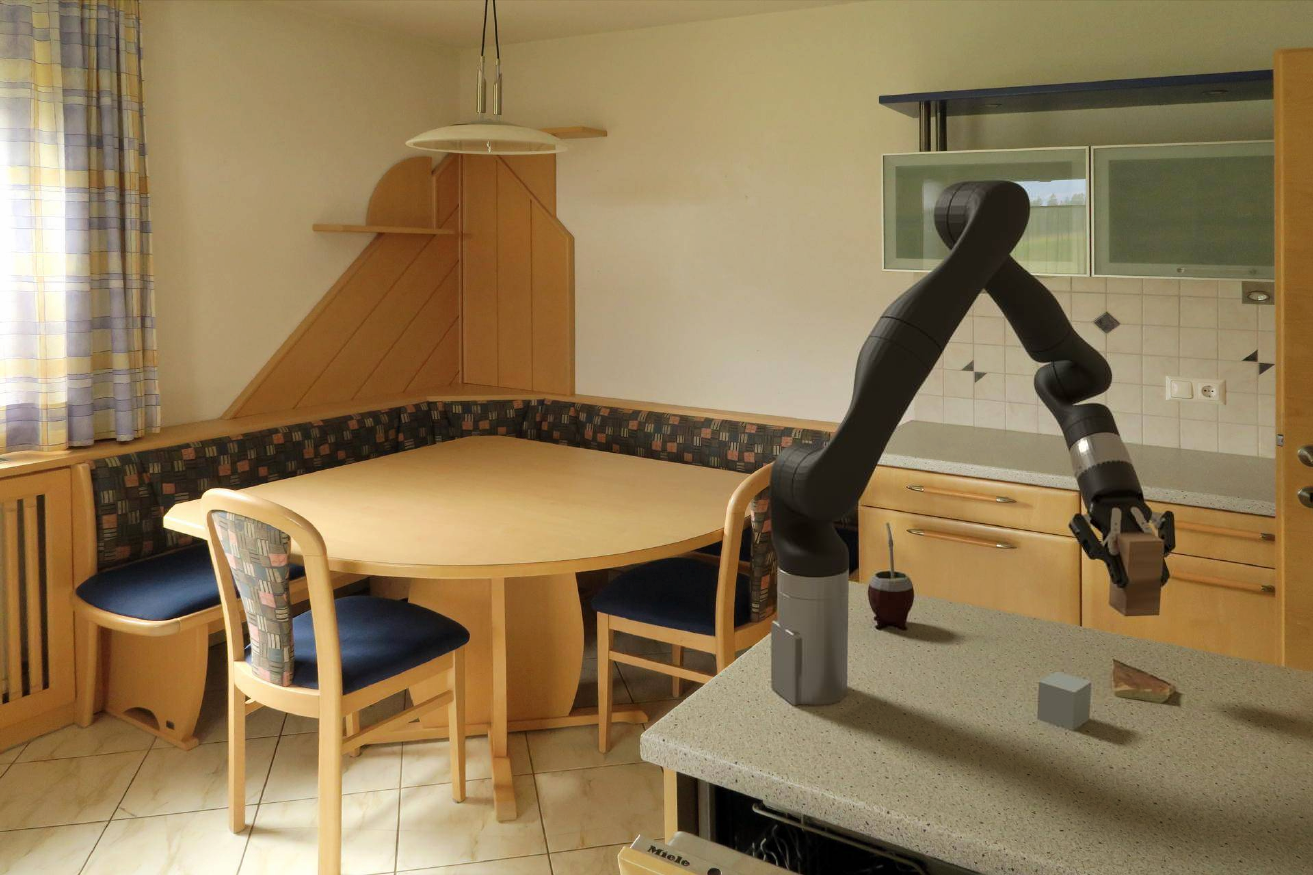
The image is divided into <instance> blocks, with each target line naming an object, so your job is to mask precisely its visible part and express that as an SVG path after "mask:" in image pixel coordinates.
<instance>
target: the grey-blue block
mask: <svg viewBox="0 0 1313 875" xmlns="http://www.w3.org/2000/svg"><path fill="white" fill-rule="evenodd" d="M1091 696H1092V681H1091V680H1086V679H1083V678H1080V677H1077V676H1073V675H1070V674H1067V673H1063V672H1060V671H1055V672H1053V673H1052V674H1050V675H1048V676H1047V677H1044V678H1043V679H1041V680H1039V682H1038V695H1037V698H1038V699H1037V700H1038V701H1037V717H1036V720H1039V721H1042V722H1044V723H1047V724H1051V725H1053V726H1056V727H1060V728H1062V729H1065V730H1068V731H1074V730H1076V729H1077V728H1078V727H1080V726H1082V725H1083V724H1085V723H1086V722H1087V721H1089V720H1090V714H1091V713H1090V711H1091V699H1092V698H1091Z"/></svg>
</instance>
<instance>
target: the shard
mask: <svg viewBox="0 0 1313 875" xmlns="http://www.w3.org/2000/svg"><path fill="white" fill-rule="evenodd" d="M1111 663H1112V668H1113V669H1112V671H1111V678H1112V679H1111V685H1112V689H1113V694H1114V697H1120V698H1128V699H1135V700H1143V701H1147V702H1148V701H1149V702H1153V701H1154V702H1153V703H1159V704H1160V703H1164V702H1165V701H1167V699H1169V697H1170V695H1171V693H1172V694H1173V693H1175V691H1176V688H1177V687H1176V685H1174V684H1172V683H1170V682H1168V681H1166V680H1164V679H1161V678H1158V677H1157V676H1155V675H1153V674H1151V673H1148V672H1146V671H1143V670H1142V669H1139V668H1137V667H1134V666H1131V665H1128V664H1126V663H1123V662H1121V661H1119V660H1117V659H1115V658H1112V662H1111Z"/></svg>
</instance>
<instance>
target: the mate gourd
mask: <svg viewBox="0 0 1313 875" xmlns="http://www.w3.org/2000/svg"><path fill="white" fill-rule="evenodd" d="M885 527H886V530H887V531H886V532H887V537H888V538H887V539H888V540H887V545H888V548H889V550H888V551H889V564H890V565H889V566H890V570H881V571H877V572H876V573H875V574H873V575H872V577H871V578H870V579H869V581H868V582H869V583H868V586H867V598H868V602H869V606H870V608H871V610H872V612H873V614H874V615H875V616H874V617H873V620H874V621H876V624H877V625H875V626H874V627H875V628H876V630H878V631H879V630H883V629H885V628H889V627H892V628H895V629H897V628H898V630H901V631H905V632H906V631H907V630H908V626H907V625H906V624H907V620H908V616H909V613H910V612H911V610H912V607H913V604H914V601H915V590H914V585H913V581H912V580H911V577H909V575H908V574H906V573H904V572H901V571H895V563H894V562H895V561H894V540H893V536H892V531H891V527H890V522H885ZM875 628H874V629H875Z"/></svg>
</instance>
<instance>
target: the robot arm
mask: <svg viewBox="0 0 1313 875" xmlns="http://www.w3.org/2000/svg"><path fill="white" fill-rule="evenodd" d="M1030 215H1031V201H1030V197H1029V194H1028V192H1027V191H1026V189H1025V188H1024V186H1022V185H1021V184H1019V183H1017V182H1014V181H1010V180H1004V179H1003V180H1002V179H992V180H991V179H989V180H971V181H970V180H967V181H961V182H956V183H952V184H950V185H949V186H947V187H946V188H945V189H944V190H943V191H941V193H940V194H939V196H938V198H937V200H936V202H935V206H934V208H933V223H934V226H935V230H936V232H937V234H938V237H939V238H940V239H941V241H942V242H943V244H944V245H945V246H946V247H947V248H948V249H949V251H950V252H948V254H947V255H946V257H945V258H944V259H943V260H942V261H941V262H940V263H939V264H938V266H936V267H935V268H933V269H932V271H930V272H929V273H928V274H926V275H925V276H924V277H922V278H921V279H920V280H918V281H917V282H916V283H914V284H913V285H912V286H911V287H909V288H908V289H906V290H905V291H904V292H903V293H902V294H901V295H899V296H898V297H897V298H896V299H895V300H893V301H892V302H891V303H890V304H889V305H888V307H886V309H885V310H884V311H883V312H882V314H881V315H880V317H879V318H878V320H877V321H876V323H875V325H874V327H873V328H872V330H871V331H870V333H869V335H868V336H867V338H866V339H865V341H864V342H863V345H862V346H861V349H860V350H859V352H858V353H859V354H858V356H857V360H856V363H855V364H856V366H855V370H854V382H853V389H852V390H853V391H852V396H851V401H850V404H849V407H848V408H847V409H848V410H847V412H846V413H845V415H844V418H843V419H842V421H841V422H840V424H839V426H838V427H837V429H836V430H835V432H834V434H833V435H832V436H831V438H830V440H829V441H828V442H827V443H826V444H825V445H824V446H823V445H819V444H816V443H811V442H795V443H791V444H790V445H787V446H786V447H785V448H783V449H782V450H781V451H780V452H779V454H778V455H777V457H776V458H775V460H774V461H773V464H772V467H771V471H770V474H769V475H770V477H769V487H768V488H769V514H770V515H769V517H770V533H771V536H770V537H771V541H772V545H773V548H774V550H775V553H776V557H777V558H776V560H777V588H776V589H777V592H776V593H777V595H776V596H777V605H776V606H777V609H776V610H777V612H776V613H777V616H776V617H777V619H775V620H772V621H771V623H770V624H771V625H770V626H771V627H770V638H771V639H770V641H771V642H770V652H771V653H770V661H771V663H770V670H771V671H770V674H771V675H770V678H771V679H770V688H771V689H772V690H773V691H774V692H776V693H777V694H778V695H779V696H781V697H782V698H783V699H785V700H786V701H787V702H789V704H791V705H794V706H796V705H797V706H798V705H812V706H816V705H818V706H819V705H820V706H823V705H829V704H834V703H837V702H839V701H841V700H843V699H844V698H845V697H846V696H847V694H848V656H849V655H848V653H849V652H848V651H849V650H848V649H849V648H848V647H849V593H850V592H849V588H850V587H849V586H850V583H849V582H850V578H849V576H850V554H849V553H850V552H849V548H848V546H847V544H846V543H845V542H844V540H843V539H842V538H841V536H840V535H839V533H838V532H837V531H836V528H835V526H834V523H835V522H838V521H840V520H842V519H844V518H845V517H846V516H848V515H849V514H850V513H851V512H852V511H853V510H854V508H856V507H857V506H856V505H857V504H858V503H859V501H860V500H861V498H862V497H863V494H864V492H865V490H866V489H867V486H868V485H869V482H870V481H871V478H872V476H873V474H874V472H875V470H876V468H877V466H878V464H879V461H880V460H881V458H882V456H883V453H884V452H885V449H886V447H887V445H888V443H889V441H891V440H890V439H891V437H892V436H893V434H894V432H895V430H896V429H897V427H898V425H900V422H901V420H902V419H903V417H904V415H905V414H906V412H907V411H908V408H909V407H910V405H911V403H912V401H913V400H914V398H915V396H916V395H917V394H918V392H919V390H920V389H921V387H922V386H923V384H924V383H925V381H926V380H927V378H928V377H929V376H930V374H931V372H932V370H933V369H934V367H935V366H936V364H937V363H938V361H939V359H940V358H941V356H942V354H943V353H944V350H945V349H946V348H947V345H948V344H949V342H950V340H951V338H952V337H953V335H954V333H956V330H957V329H958V327H959V326H960V325H961V323H962V321H963V319H964V318H966V317H965V316H966V315H967V314H968V312H969V311H970V310H971V308H972V306H973V304H974V303H975V301H976V300H977V299H978V297H979V295H980V294H981V292H982V291H983V290H984V291H985V292H986V293H987V294H988V296H989V297H990V298H991V300H993V302H994V303H995V304H996V306H997V307H998V308H999V310H1000V311H1001V313H1002V314H1003V315H1004V317H1005V319H1006V320H1007V321H1008V323H1009V325H1010V326H1011V327H1012V330H1013V332H1014V333H1015V335H1016V336H1017V338H1018V340H1019V341H1020V343H1021V346H1023V349H1024V350H1025V351H1026V354H1028V357H1030V359H1032V361H1034V362H1036V363H1039V364H1044V365H1042V366H1040V367H1039V368H1038V369H1037V371H1036V373H1035V374H1034V377H1033V388H1034V390H1035V393H1036V394H1037V396H1038V397H1039V399H1040V400H1041V402H1042V403H1043V404H1044V406H1045V407H1046V408H1047V409H1048V410H1049V412H1050V413H1051V414H1052V415H1053V418H1054V419H1055V420H1056V422H1057V423H1058V425H1059V428H1060V430H1061V432H1062V435H1063V437H1064V440H1065V443H1066V446H1067V450H1068V452H1069V455H1070V456H1069V457H1070V461H1071V468H1072V471H1073V476H1074V478H1075V481H1076V483H1077V486H1078V489H1079V493H1080V496H1081V499H1082V502H1083V505H1084V508H1085V509H1086V513H1084V514H1082V513H1075V514H1074V515H1073V517H1072V518H1071V520H1070V522H1069V523H1068V526H1067V527H1068V528H1069V529H1070V532H1071V533H1072V534H1073V536H1074V537H1075V539H1076V540H1077V543H1078V544H1079V545H1080V546H1081V548H1082V550H1083V551H1084V553H1085V555H1086V556H1087V558H1088V559H1090V560H1093V561H1095V560H1100V561H1102V562H1103V563H1104V564H1105V567H1106V569H1107V572H1108V574H1109V579H1110V578H1111V581H1112V582H1113V584H1116V585H1117V587H1118V588H1124V587H1125V586H1126V585H1127V584H1128V583H1129V578H1128V576H1127V574H1126V571H1125V568H1124V565H1123V562H1122V559H1121V556H1118V555H1117V554H1118V553H1119V549H1118V546H1117V543H1116V534H1120V532H1136V531H1142V532H1144V533H1151V534H1153V535H1155V536H1156V533H1155V531H1154V530H1157V537H1159V538H1160V539H1162V540H1164V554H1163V568H1162V576H1161V588H1163V587H1165V585H1166V584H1167V583H1168V581H1169V579H1170V578H1171V577H1170V576H1171V573H1170V570H1169V568H1168V565H1167V562H1166V559H1165V558H1167V557H1168V556H1169V555H1170V554H1171V553H1172V552H1173V551H1174V550H1175V548H1177V547H1176V545H1177V544H1176V526H1175V525H1176V524H1175V513H1174V512H1173V511H1172V510H1171V511H1170V510H1166V511H1164V513H1163V512H1157V511H1154V510H1153V511H1152V508H1151V507H1150V506H1149V505H1148V504H1147V503H1146V501H1145V498H1144V492H1143V488H1142V486H1141V482H1140V480H1139V478H1138V475H1137V472H1136V470H1135V467H1134V464H1133V462H1132V459H1131V457H1130V453H1129V451H1128V449H1127V447H1126V445H1125V443H1124V441H1123V439H1122V437H1121V435H1120V432H1119V429H1118V426H1117V424H1116V423H1117V422H1116V421H1115V418H1114V415H1113V414H1112V411H1111V409H1110V408H1109V407H1108V406H1107V405H1105V404H1102V403H1099V402H1089V403H1081V402H1084V401H1086V400H1089V399H1092V398H1095V397H1097V396H1100V395H1102V394H1103V393H1106V391H1108V390H1109V388H1110V386H1111V384H1112V381H1113V371H1112V369H1111V366H1110V364H1109V363H1108V361H1107V359H1105V357H1104V356H1103V355H1102V354H1101V353H1100V351H1098V350H1097V349H1096V348H1095V347H1093V346H1092V345H1091V344H1090V343H1088V342H1087V341H1086V340H1085V339H1084V338H1083V337H1081V335H1080V334H1079V333H1078V332H1077V331H1076V330H1075V328H1074V327H1073V325H1072V324H1071V322H1070V320H1069V318H1068V317H1067V315H1066V312H1065V311H1064V309H1063V307H1062V306H1061V304H1060V302H1059V301H1058V300H1057V298H1056V296H1055V295H1054V294H1053V293H1052V292H1051V291H1050V290H1049V289H1048V288H1047V287H1046V285H1044V284H1043V282H1041V281H1040V280H1038V279H1037V277H1035V276H1034V275H1033V274H1032V273H1030V272H1029V271H1028V270H1027V269H1025V268H1024V267H1023V266H1022V265H1021V264H1020V263H1019V262H1018V261H1017V260H1015V258H1014V257H1013V256H1012V255H1011V253H1012V252H1013V251H1014V249H1015V248H1016V246H1017V245H1018V244H1019V242H1020V241H1021V239H1022V237H1023V235H1024V233H1025V231H1026V229H1027V228H1028V227H1027V226H1028V224H1029V220H1030ZM1080 403H1081V404H1080ZM1150 522H1152V524H1153V526H1154V527H1153V528H1154V530H1153V528H1152V527H1151V526H1150V524H1149V523H1150ZM1092 526H1093V527H1094V529H1096V530H1097V531H1098V532H1099V533H1101V537H1100V538H1101V541H1100V539H1099V537H1098V536H1097V535H1096V533H1095V532H1094V529H1092Z"/></svg>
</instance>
